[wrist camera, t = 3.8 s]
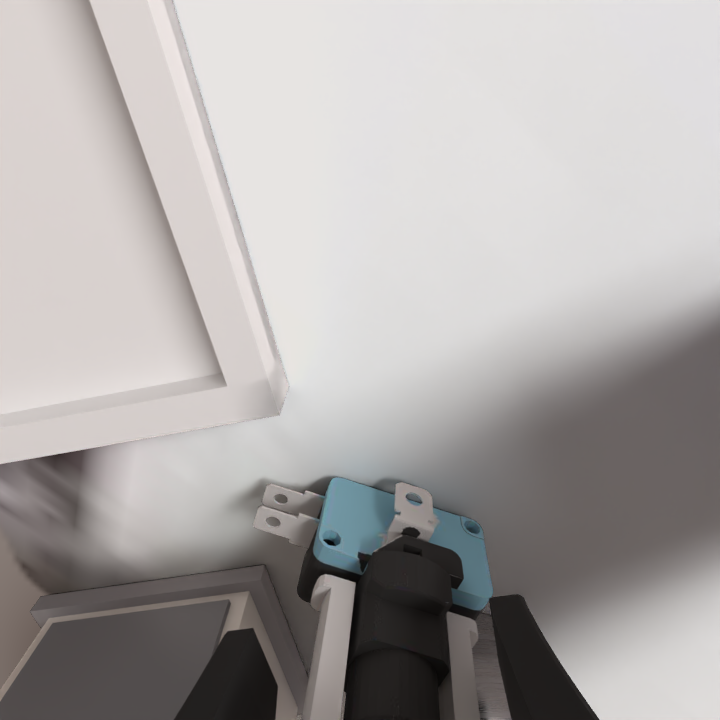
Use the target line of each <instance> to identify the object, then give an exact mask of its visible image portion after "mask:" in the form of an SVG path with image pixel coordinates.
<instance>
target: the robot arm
mask: <svg viewBox="0 0 720 720" xmlns="http://www.w3.org/2000/svg"><path fill="white" fill-rule="evenodd" d="M489 602H490V609H491V615H492V622H493V629H494V636H495V642H496V649H497V656H498V662H499V667H500V671H501V676H502V680H503V685H504V689H505V693H506V698H507V702H508V707H509V711H510V715H511V719H512V720H599V718H598V717H597V716H596V714H595V713H594V711H593V710H592V709H591V707H590V706H589V704H588V703H587V702H586V700H585V699H584V697H583V696H582V694H581V693H580V691H579V690H578V688H577V687H576V686H575V684H574V683H573V681H572V680H571V678H570V677H569V675H568V674H567V672H566V671H565V669H564V668H563V666H562V665H561V663H560V662H559V660H558V658H557V657H556V655H555V654H554V652H553V650H552V649H551V647H550V646H549V644H548V642H547V641H546V639H545V637H544V636H543V634H542V632H541V630H540V629H539V627H538V625H537V623H536V622H535V620H534V618H533V616H532V614H531V612H530V610H529V608H528V606H527V604H526V602H525V600H524V598H523V597H522V596H520V595H518V594H516V595H508V596H500V597H492V598H489ZM277 693H278V685H277V682H276V680H275V678H274V675H273V673H272V671H271V668H270V666H269V664H268V661H267V659H266V657H265V654H264V652H263V650H262V647H261V645H260V643H259V640H258V638H257V636H256V633H255V631H254V629H253V628H248V629H240V630H232V631H227V632H226V634H225V635H224V637H223V638H222V640H221V642H220V643H219V645H218V647H217V648H216V650H215V652H214V654H213V655H212V657H211V659H210V660H209V662H208V664H207V665H206V667H205V669H204V671H203V672H202V674H201V676H200V677H199V679H198V681H197V682H196V684H195V686H194V687H193V689H192V691H191V692H190V694H189V696H188V697H187V699H186V701H185V702H184V704H183V705H182V707H181V709H180V710H179V712H178V713H177V715H176V717H175V718H174V720H275V718H276V706H277Z"/></svg>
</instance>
